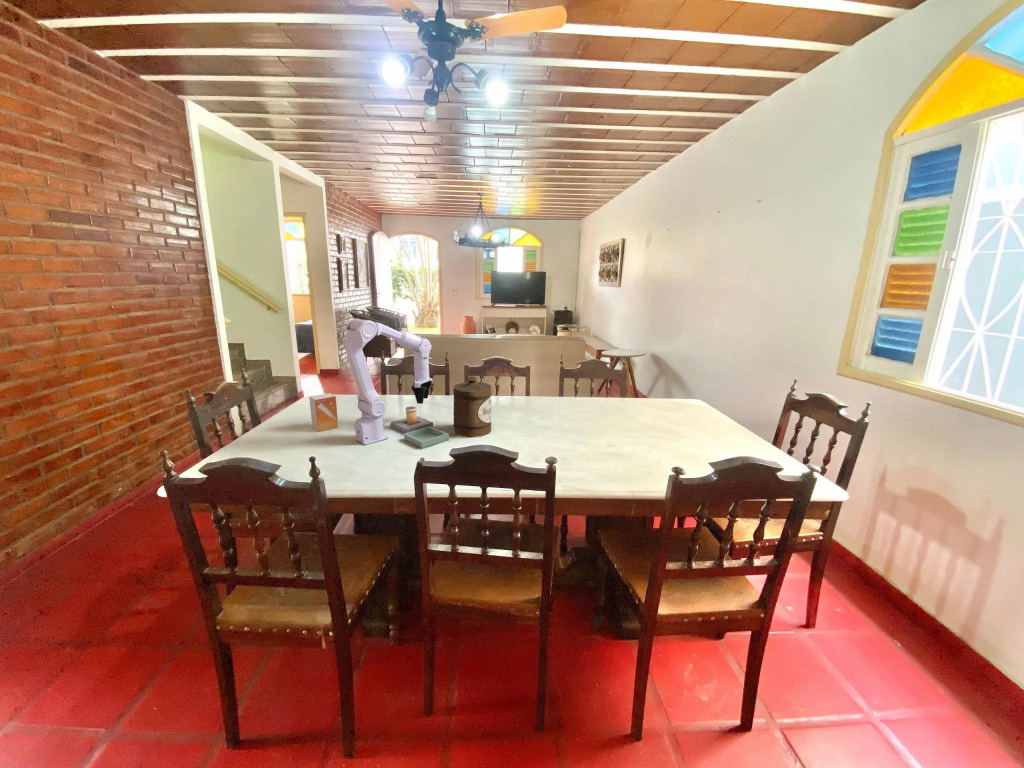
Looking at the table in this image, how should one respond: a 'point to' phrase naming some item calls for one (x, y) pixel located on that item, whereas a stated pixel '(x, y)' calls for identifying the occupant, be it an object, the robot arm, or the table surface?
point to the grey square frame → (405, 428)
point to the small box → (323, 412)
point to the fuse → (411, 415)
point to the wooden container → (472, 408)
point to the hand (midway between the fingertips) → (422, 400)
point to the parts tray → (426, 437)
